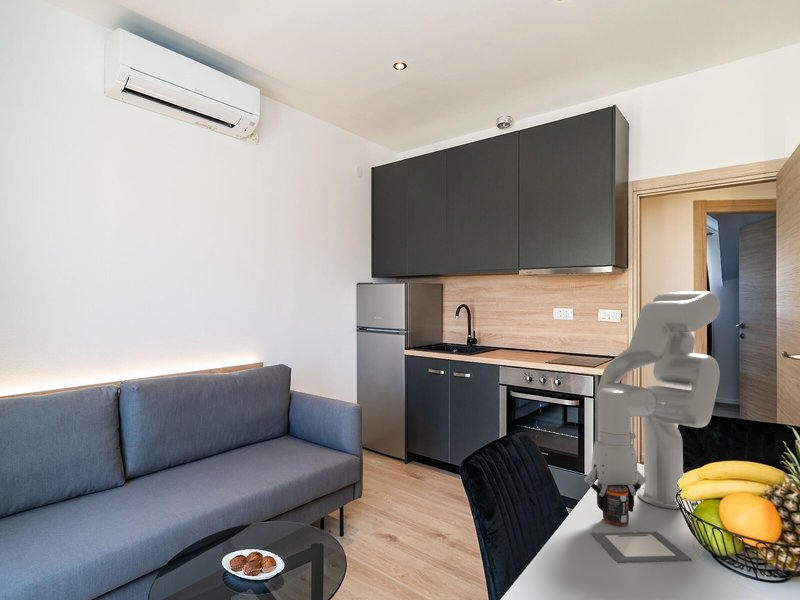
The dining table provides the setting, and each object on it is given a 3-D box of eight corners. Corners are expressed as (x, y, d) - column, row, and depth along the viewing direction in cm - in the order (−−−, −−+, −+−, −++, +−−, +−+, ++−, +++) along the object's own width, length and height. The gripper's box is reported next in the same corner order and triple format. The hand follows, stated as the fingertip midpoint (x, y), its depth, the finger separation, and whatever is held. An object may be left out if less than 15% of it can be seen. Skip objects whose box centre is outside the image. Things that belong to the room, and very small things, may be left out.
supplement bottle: (632, 528, 109) (631, 481, 109) (606, 526, 110) (605, 479, 110) (625, 517, 115) (624, 472, 115) (600, 515, 116) (599, 471, 116)
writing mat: (657, 532, 107) (657, 530, 107) (691, 560, 95) (691, 558, 95) (591, 534, 106) (591, 532, 106) (617, 562, 94) (617, 560, 94)
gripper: (639, 433, 117) (640, 502, 117) (574, 434, 117) (575, 504, 116) (656, 441, 110) (658, 516, 109) (587, 443, 109) (588, 517, 109)
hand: (615, 509), depth 113 cm, fingers closed on supplement bottle, 6 cm apart
